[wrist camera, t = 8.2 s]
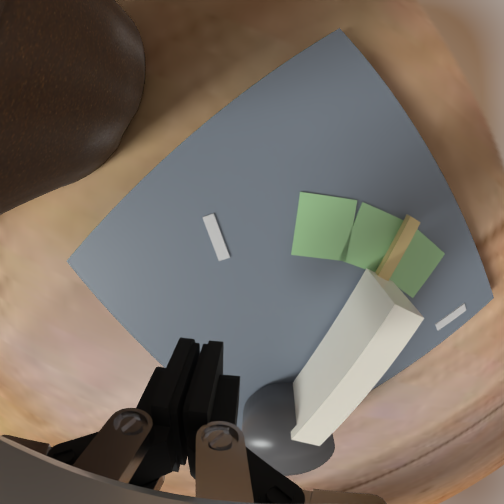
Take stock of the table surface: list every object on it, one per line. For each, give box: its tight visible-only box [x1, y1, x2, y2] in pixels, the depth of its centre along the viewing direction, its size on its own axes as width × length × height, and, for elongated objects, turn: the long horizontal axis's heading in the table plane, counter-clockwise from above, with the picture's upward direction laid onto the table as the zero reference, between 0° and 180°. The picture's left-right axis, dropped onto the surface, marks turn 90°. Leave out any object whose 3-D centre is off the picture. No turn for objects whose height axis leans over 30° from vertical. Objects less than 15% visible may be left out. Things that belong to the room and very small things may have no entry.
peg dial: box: [242, 215, 424, 476], centre depth 15 cm, size 17×6×4 cm, turn 155°
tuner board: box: [67, 28, 494, 431], centre depth 17 cm, size 19×20×1 cm
